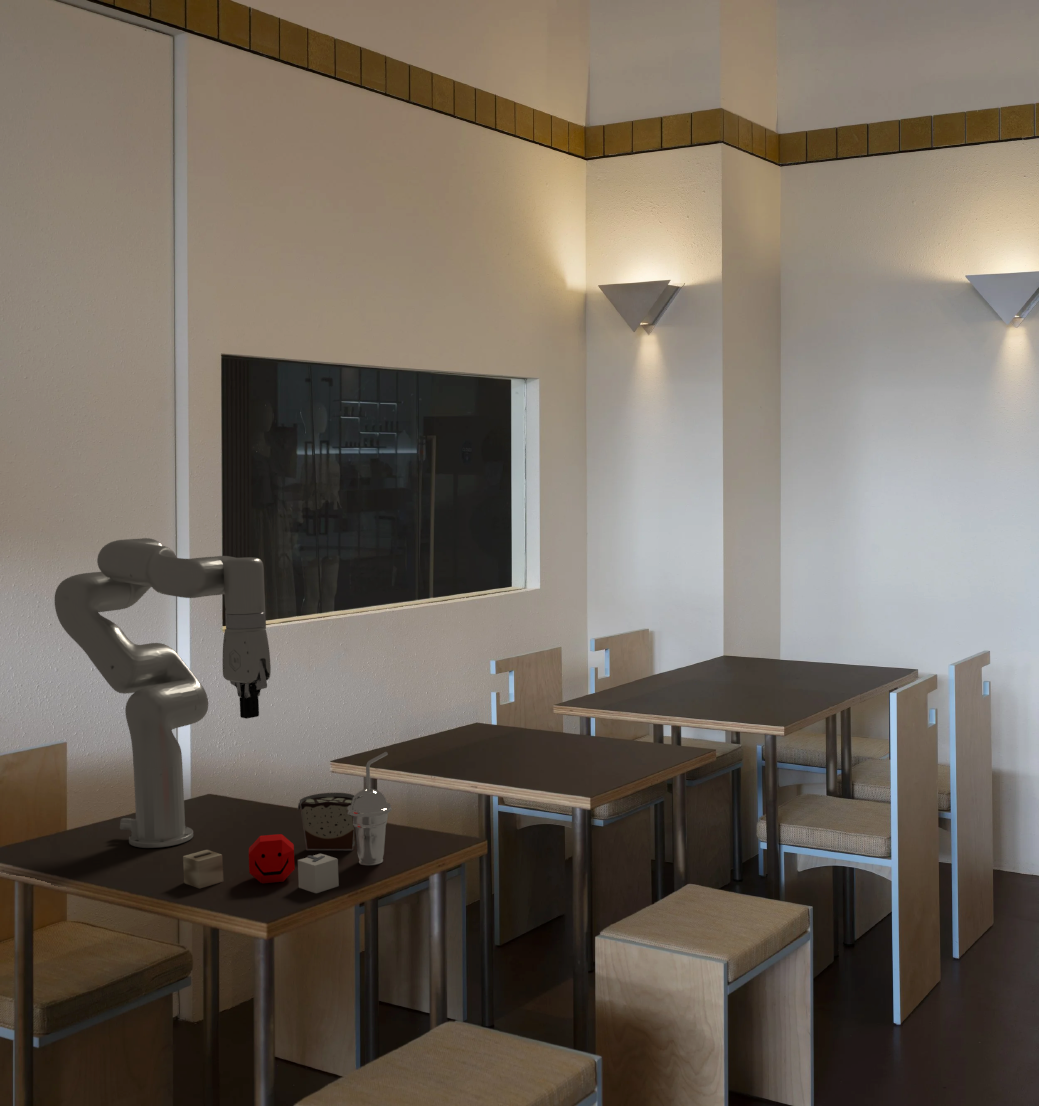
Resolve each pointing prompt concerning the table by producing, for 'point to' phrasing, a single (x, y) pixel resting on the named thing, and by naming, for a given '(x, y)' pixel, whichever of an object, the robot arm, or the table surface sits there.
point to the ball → (271, 858)
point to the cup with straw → (369, 820)
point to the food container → (327, 821)
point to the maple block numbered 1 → (203, 868)
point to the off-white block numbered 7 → (318, 873)
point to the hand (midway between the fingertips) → (249, 716)
